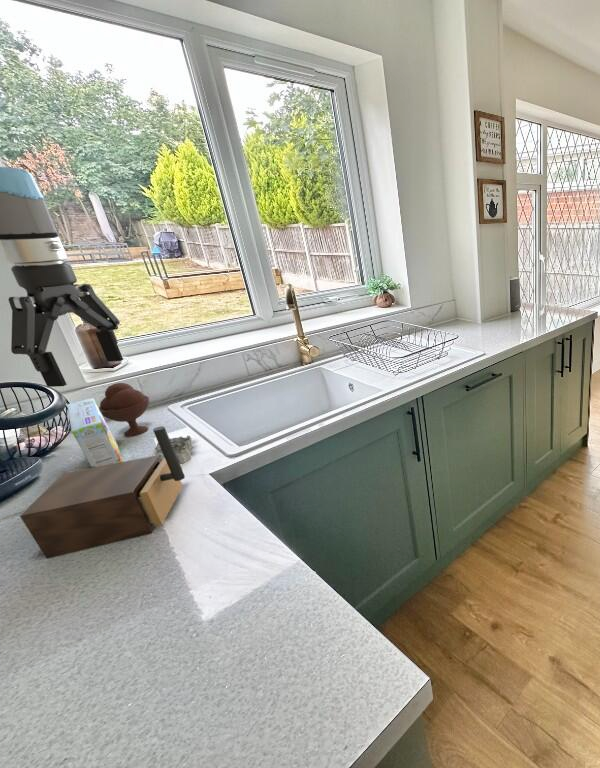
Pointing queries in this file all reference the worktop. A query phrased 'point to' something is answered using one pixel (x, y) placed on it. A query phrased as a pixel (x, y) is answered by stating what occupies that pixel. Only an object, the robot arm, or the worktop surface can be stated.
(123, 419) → the ice cream bowl
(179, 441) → the grey rock
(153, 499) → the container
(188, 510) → the worktop surface
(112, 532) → the storage box
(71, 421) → the snack box
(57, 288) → the robot arm
